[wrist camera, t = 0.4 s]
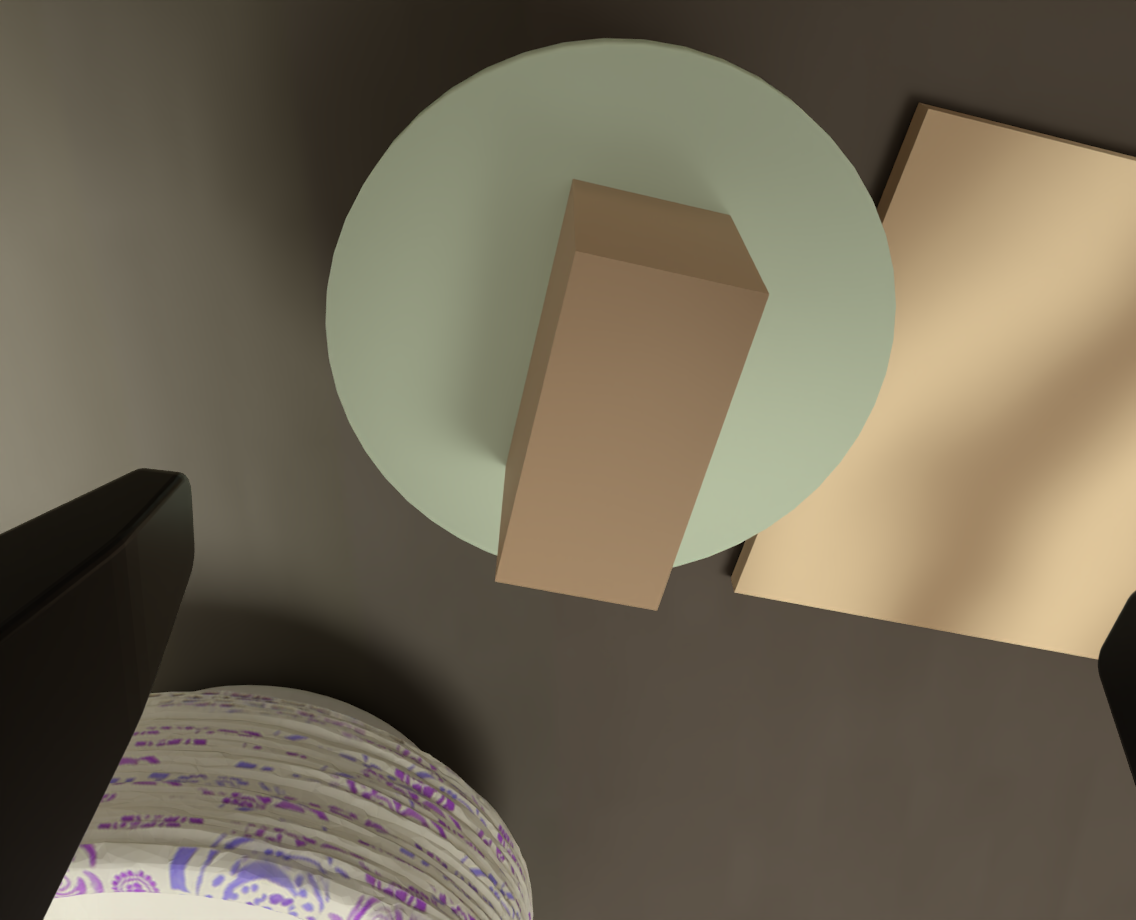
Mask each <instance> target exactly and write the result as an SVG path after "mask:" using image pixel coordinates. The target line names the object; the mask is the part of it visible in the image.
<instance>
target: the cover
mask: <svg viewBox="0 0 1136 920" xmlns="http://www.w3.org/2000/svg"><path fill="white" fill-rule="evenodd" d="M895 312H896V298H895V283H894V270H893V265H892V260H891V256H890V251H889V247H888V242H887V237H886V234H885V231H884V228H883V226H882V223H881V221H880V218H879V215H878V213H877V210H876V207H875V205H874V202H873V200H872V198H871V196H870V194H869V193H868V191H867V189H866V187H865V186H864V184H863V182H862V180H861V178H860V177H859V175H858V173H857V171H856V170H855V168H854V167H853V165H852V164H851V163H850V161H849V160H848V159H847V158H846V156H845V155H844V154H843V152H842V151H841V150H840V149H839V147H838V146H837V145H836V143H835V142H834V141H833V140H832V138H831V137H830V136H829V135H828V134H827V133H826V132H825V131H824V130H823V129H822V128H821V127H820V126H819V125H818V124H816V123H815V122H814V121H813V120H812V119H811V118H810V117H809V116H808V115H807V114H806V113H805V112H804V111H803V110H802V109H801V108H800V107H799V106H797V105H796V104H795V103H794V102H793V101H792V100H791V99H790V98H788V97H787V96H786V95H784V94H783V93H781V92H780V91H778V90H777V89H776V88H774V87H773V86H771V85H770V84H768V83H767V82H766V81H764V80H763V79H761V78H760V77H758V76H756V75H754V74H752V73H750V72H748V71H746V70H744V69H742V68H740V67H738V66H736V65H734V64H732V63H730V62H728V61H726V60H724V59H722V58H719V57H716V56H713V55H709V54H706V53H703V52H700V51H697V50H694V49H691V48H688V47H685V46H680V45H674V44H668V43H663V42H657V41H651V40H646V39H619V38H600V39H590V40H581V41H572V42H563V43H559V44H555V45H551V46H547V47H543V48H539V49H535V50H531V51H527V52H523V53H521V54H519V55H516V56H514V57H511V58H509V59H506V60H504V61H501V62H499V63H496V64H494V65H492V66H489V67H487V68H485V69H483V70H481V71H480V72H478V73H476V74H474V75H473V76H471V77H469V78H468V79H466V80H464V81H462V82H461V83H459V84H457V85H456V86H454V87H452V88H451V89H449V90H448V91H447V92H446V93H444V94H443V95H442V96H441V97H439V98H438V99H437V100H435V101H434V102H433V103H432V104H430V105H429V106H428V107H427V108H425V109H424V110H423V111H422V112H420V113H419V114H418V115H417V116H416V118H415V119H414V120H413V121H412V122H411V123H410V124H409V125H408V126H407V127H406V128H405V129H404V130H403V131H402V132H401V133H400V134H399V135H398V136H397V137H396V139H395V140H394V141H393V142H392V144H391V145H390V146H389V148H388V149H387V151H386V152H385V153H384V155H383V156H382V158H381V159H380V160H379V162H378V163H377V165H376V166H375V167H374V169H373V170H372V172H371V173H370V175H369V176H368V178H367V180H366V181H365V183H364V184H363V186H362V188H361V190H360V192H359V194H358V196H357V198H356V200H355V202H354V204H353V206H352V208H351V209H350V211H349V213H348V215H347V217H346V219H345V222H344V225H343V228H342V231H341V234H340V237H339V240H338V243H337V246H336V249H335V251H334V255H333V260H332V265H331V271H330V276H329V281H328V287H327V301H326V334H327V344H328V354H329V361H330V365H331V369H332V373H333V377H334V381H335V385H336V390H337V393H338V395H339V398H340V400H341V403H342V405H343V408H344V410H345V413H346V416H347V418H348V421H349V423H350V425H351V426H352V428H353V430H354V432H355V434H356V435H357V437H358V439H359V441H360V443H361V444H362V446H363V448H364V450H365V451H366V453H367V454H368V455H369V457H370V458H371V459H372V461H373V462H374V464H375V465H376V466H377V468H378V469H379V470H380V472H381V473H382V474H383V476H384V477H385V478H386V479H387V480H388V481H389V482H390V483H391V484H392V485H393V486H394V487H395V488H396V490H397V491H398V492H399V493H400V494H401V495H402V496H403V497H404V498H405V499H406V500H407V501H408V502H410V503H411V504H412V505H413V506H414V507H416V508H417V509H418V510H419V511H421V512H422V513H423V514H424V515H425V516H427V517H428V518H429V519H430V520H432V521H433V522H435V523H436V524H438V525H439V526H441V527H442V528H444V529H446V530H447V531H449V532H450V533H452V534H453V535H455V536H456V537H458V538H460V539H462V540H464V541H466V542H468V543H470V544H472V545H474V546H476V547H478V548H480V549H482V550H484V551H487V552H489V553H492V554H495V555H497V565H496V576H495V582H501V583H506V584H512V585H517V586H523V587H528V588H534V589H539V590H545V591H551V592H556V593H562V594H567V595H573V596H578V597H584V598H589V599H595V600H601V601H606V602H612V603H617V604H623V605H628V606H634V607H640V608H645V609H651V610H656V611H657V609H658V606H659V604H660V601H661V598H662V595H663V592H664V589H665V587H666V584H667V581H668V578H669V575H670V573H671V570H672V567H676V566H680V565H683V564H687V563H690V562H693V561H697V560H700V559H703V558H706V557H709V556H712V555H714V554H716V553H719V552H721V551H724V550H726V549H728V548H731V547H733V546H735V545H738V544H740V543H742V542H743V541H745V540H747V539H749V538H751V537H752V536H754V535H756V534H758V533H760V532H761V531H763V530H765V529H767V528H768V527H770V526H771V525H772V524H774V523H775V522H777V521H778V520H779V519H781V518H782V517H784V516H785V515H787V514H788V513H789V512H791V511H792V510H794V509H795V508H796V507H797V506H798V505H799V504H800V503H801V502H803V501H804V500H805V499H806V498H807V497H808V496H809V495H810V494H811V493H813V492H814V491H815V490H816V489H817V488H818V487H819V486H820V485H821V484H822V483H823V481H824V480H825V479H826V478H827V477H828V476H829V475H830V474H831V472H832V471H833V470H834V469H835V468H836V467H837V466H838V464H839V463H840V462H841V461H842V459H843V458H844V456H845V455H846V453H847V452H848V451H849V449H850V448H851V446H852V445H853V443H854V442H855V440H856V439H857V437H858V436H859V434H860V432H861V431H862V429H863V427H864V425H865V423H866V421H867V419H868V417H869V415H870V413H871V411H872V409H873V407H874V405H875V403H876V400H877V397H878V394H879V392H880V389H881V386H882V383H883V381H884V378H885V375H886V372H887V367H888V363H889V358H890V353H891V349H892V344H893V339H894V325H895Z"/></svg>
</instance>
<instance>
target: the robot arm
mask: <svg viewBox="0 0 1136 920" xmlns="http://www.w3.org/2000/svg"><path fill="white" fill-rule="evenodd" d="M193 561H194V530H193V512H192V495H191V486H190V482H189V480H188V478H187V477H186V476H185V475H184V474H183V473H180V472H173V471H164V470H156V469H147V468H141V469H137V470H135V471H132V472H130V473H128V474H126V475H124V476H122V477H120V478H118V479H115V480H113V481H111V482H109V483H107V484H105V485H103V486H101V487H99V488H97V489H94V490H92V491H90V492H88V493H86V494H84V495H82V496H80V497H78V498H75V499H73V500H71V501H69V502H67V503H65V504H63V505H61V506H59V507H57V508H54V509H52V510H50V511H48V512H46V513H44V514H42V515H40V516H38V517H36V518H33V519H31V520H29V521H27V522H25V523H23V524H21V525H19V526H17V527H15V528H12V529H10V530H8V531H6V532H4V533H2V534H0V920H43V919H44V917H45V915H46V913H47V911H48V909H49V907H50V905H51V903H52V901H53V899H54V897H55V895H56V893H57V891H58V889H59V887H60V884H61V882H62V880H63V878H64V876H65V874H66V872H67V870H68V868H69V866H70V864H71V862H72V860H73V858H74V856H75V854H76V852H77V850H78V847H79V845H80V843H81V841H82V839H83V837H84V835H85V833H86V831H87V829H88V827H89V825H90V823H91V821H92V819H93V817H94V815H95V813H96V810H97V808H98V806H99V804H100V802H101V800H102V798H103V796H104V794H105V792H106V790H107V788H108V786H109V784H110V782H111V780H112V778H113V776H114V773H115V771H116V769H117V767H118V765H119V763H120V761H121V759H122V757H123V755H124V753H125V751H126V749H127V747H128V745H129V743H130V741H131V739H132V736H133V734H134V732H135V730H136V727H137V725H138V723H139V721H140V718H141V716H142V714H143V711H144V708H145V706H146V703H147V700H148V698H149V695H150V692H151V689H152V686H153V683H154V680H155V677H156V675H157V672H158V669H159V666H160V663H161V660H162V657H163V654H164V651H165V648H166V645H167V642H168V639H169V636H170V633H171V630H172V628H173V625H174V622H175V619H176V616H177V613H178V610H179V607H180V604H181V601H182V598H183V595H184V592H185V589H186V586H187V583H188V581H189V578H190V574H191V571H192V566H193ZM1098 671H1099V676H1100V679H1101V682H1102V685H1103V688H1104V691H1105V694H1106V697H1107V700H1108V703H1109V706H1110V709H1111V713H1112V716H1113V719H1114V722H1115V725H1116V728H1117V731H1118V734H1119V737H1120V740H1121V743H1122V746H1123V749H1124V752H1125V755H1126V758H1127V761H1128V764H1129V767H1130V770H1131V773H1132V776H1133V779H1134V782H1135V785H1136V591H1134V592H1133V593H1132V594H1131V595H1130V597H1129V598H1128V600H1127V601H1126V603H1125V605H1124V607H1123V609H1122V610H1121V612H1120V614H1119V616H1118V618H1117V620H1116V621H1115V623H1114V625H1113V627H1112V629H1111V630H1110V632H1109V634H1108V636H1107V638H1106V639H1105V641H1104V643H1103V645H1102V647H1101V649H1100V653H1099V657H1098Z"/></svg>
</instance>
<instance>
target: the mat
mask: <svg viewBox="0 0 1136 920" xmlns="http://www.w3.org/2000/svg"><path fill="white" fill-rule="evenodd" d="M876 210H877V213H878V215H879V218H880V221H881V223H882V226H883V228H884V231H885V234H886V237H887V242H888V247H889V251H890V256H891V260H892V265H893V270H894V283H895V298H896V312H895V325H894V339H893V344H892V349H891V353H890V358H889V363H888V367H887V372H886V375H885V378H884V381H883V383H882V386H881V389H880V392H879V394H878V397H877V400H876V403H875V405H874V407H873V409H872V411H871V413H870V415H869V417H868V419H867V421H866V423H865V425H864V427H863V429H862V431H861V432H860V434H859V436H858V437H857V439H856V440H855V442H854V443H853V445H852V446H851V448H850V449H849V451H848V452H847V453H846V455H845V456H844V458H843V459H842V461H841V462H840V463H839V464H838V466H837V467H836V468H835V469H834V470H833V471H832V472H831V474H830V475H829V476H828V477H827V478H826V479H825V480H824V481H823V483H822V484H821V485H820V486H819V487H818V488H817V489H816V490H815V491H814V492H813V493H811V494H810V495H809V496H808V497H807V498H806V499H805V500H804V501H803V502H801V503H800V504H799V505H798V506H797V507H796V508H795V509H794V510H792V511H791V512H789V513H788V514H787V515H785V516H784V517H782V518H781V519H779V520H778V521H777V522H775V523H774V524H772V525H771V526H770V527H768V528H767V529H765V530H763V531H761V532H760V533H758V534H756V535H754V536H752V537H751V538H749V539H747V540H746V541H745V543H744V546H743V548H742V551H741V553H740V556H739V558H738V561H737V563H736V566H735V568H734V571H733V574H732V576H731V581H732V585H733V589H734V592H735V593H740V594H746V595H751V596H757V597H762V598H768V599H773V600H778V601H784V602H789V603H795V604H800V605H806V606H811V607H817V608H822V609H827V610H833V611H838V612H844V613H849V614H855V615H860V616H865V617H871V618H876V619H882V620H887V621H893V622H898V623H903V624H909V625H914V626H920V627H925V628H931V629H936V630H941V631H947V632H952V633H958V634H963V635H969V636H974V637H980V638H985V639H990V640H996V641H1001V642H1007V643H1012V644H1018V645H1023V646H1028V647H1034V648H1039V649H1045V650H1050V651H1056V652H1061V653H1066V654H1072V655H1077V656H1083V657H1088V658H1094V659H1098V657H1099V653H1100V649H1101V647H1102V645H1103V643H1104V641H1105V639H1106V638H1107V636H1108V634H1109V632H1110V630H1111V629H1112V627H1113V625H1114V623H1115V621H1116V620H1117V618H1118V616H1119V614H1120V612H1121V610H1122V609H1123V607H1124V605H1125V603H1126V601H1127V600H1128V598H1129V597H1130V595H1131V594H1132V593H1133V592H1134V591H1136V157H1133V156H1129V155H1125V154H1121V153H1117V152H1113V151H1109V150H1105V149H1101V148H1097V147H1093V146H1089V145H1085V144H1081V143H1078V142H1074V141H1070V140H1066V139H1062V138H1058V137H1054V136H1050V135H1046V134H1042V133H1038V132H1034V131H1030V130H1026V129H1022V128H1018V127H1014V126H1010V125H1006V124H1002V123H998V122H994V121H990V120H987V119H983V118H979V117H975V116H971V115H967V114H963V113H959V112H955V111H951V110H947V109H943V108H939V107H935V106H931V105H927V104H923V103H918V106H917V108H916V111H915V113H914V116H913V118H912V121H911V123H910V126H909V128H908V131H907V134H906V136H905V139H904V141H903V144H902V146H901V149H900V151H899V154H898V156H897V159H896V161H895V164H894V166H893V169H892V171H891V174H890V176H889V179H888V182H887V184H886V187H885V189H884V192H883V194H882V197H881V199H880V202H879V204H878V207H877V209H876Z"/></svg>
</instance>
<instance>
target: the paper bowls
mask: <svg viewBox="0 0 1136 920" xmlns="http://www.w3.org/2000/svg"><path fill="white" fill-rule="evenodd" d="M43 920H533V907H532V891H531V885H530V879H529V875H528V870H527V866H526V862H525V860H524V859H523V857H522V855H521V852H520V849H519V847H518V845H517V844H516V842H515V840H514V838H513V836H512V835H511V833H510V831H509V829H508V828H507V826H506V825H505V823H504V822H503V820H502V819H501V818H500V816H499V815H498V813H497V812H496V810H495V809H494V808H493V807H492V806H491V805H490V804H489V803H488V802H487V801H486V800H485V799H484V798H483V797H481V796H480V795H479V794H478V793H477V792H476V791H475V790H473V789H472V788H471V787H470V786H469V785H468V784H466V783H465V782H464V781H463V780H462V779H461V778H460V777H459V776H458V775H457V774H456V773H455V772H453V771H452V770H451V769H450V768H449V767H447V766H446V765H444V764H443V763H441V762H440V761H438V760H436V759H435V758H433V757H432V756H431V755H430V754H428V753H425V752H423V751H421V750H420V749H419V748H418V747H417V746H416V745H415V744H414V743H413V742H412V741H410V740H409V739H408V738H407V737H405V736H404V735H403V734H402V733H400V732H399V731H397V730H396V729H395V728H393V727H392V726H390V725H389V724H388V723H386V722H384V721H382V720H381V719H379V718H377V717H375V716H374V715H372V714H370V713H368V712H366V711H364V710H361V709H359V708H357V707H355V706H353V705H351V704H348V703H346V702H343V701H340V700H337V699H334V698H331V697H328V696H324V695H320V694H316V693H313V692H309V691H304V690H298V689H293V688H286V687H277V686H265V685H235V686H222V687H215V688H208V689H203V690H199V691H194V692H163V693H150V695H149V698H148V700H147V703H146V706H145V708H144V711H143V714H142V716H141V718H140V721H139V723H138V725H137V727H136V730H135V732H134V734H133V736H132V739H131V741H130V743H129V745H128V747H127V749H126V751H125V753H124V755H123V757H122V759H121V761H120V763H119V765H118V767H117V769H116V771H115V773H114V776H113V778H112V780H111V782H110V784H109V786H108V788H107V790H106V792H105V794H104V796H103V798H102V800H101V802H100V804H99V806H98V808H97V810H96V813H95V815H94V817H93V819H92V821H91V823H90V825H89V827H88V829H87V831H86V833H85V835H84V837H83V839H82V841H81V843H80V845H79V847H78V850H77V852H76V854H75V856H74V858H73V860H72V862H71V864H70V866H69V868H68V870H67V872H66V874H65V876H64V878H63V880H62V882H61V884H60V887H59V889H58V891H57V893H56V895H55V897H54V899H53V901H52V903H51V905H50V907H49V909H48V911H47V913H46V915H45V917H44V919H43Z"/></svg>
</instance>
